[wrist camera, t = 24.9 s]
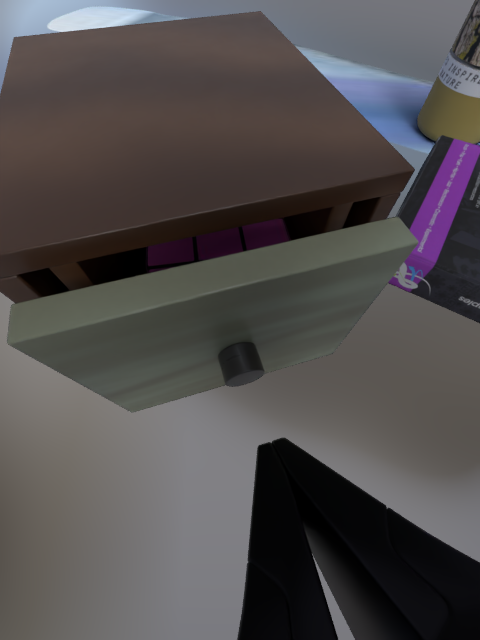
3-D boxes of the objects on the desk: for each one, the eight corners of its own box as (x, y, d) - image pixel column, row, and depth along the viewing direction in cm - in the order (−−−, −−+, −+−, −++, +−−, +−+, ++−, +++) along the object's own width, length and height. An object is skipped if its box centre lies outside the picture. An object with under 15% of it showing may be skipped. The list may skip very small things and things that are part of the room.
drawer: (342, 373, 15) (446, 273, 8) (134, 437, 14) (-2, 392, 6) (258, 201, 22) (268, 57, 14) (112, 231, 21) (34, 86, 13)
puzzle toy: (175, 335, 15) (144, 268, 10) (172, 256, 18) (146, 173, 13) (277, 321, 16) (295, 251, 11) (259, 246, 18) (266, 162, 13)
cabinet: (323, 328, 18) (416, 169, 8) (122, 384, 16) (-42, 262, 7) (253, 186, 24) (260, 10, 15) (106, 215, 23) (13, 37, 13)
